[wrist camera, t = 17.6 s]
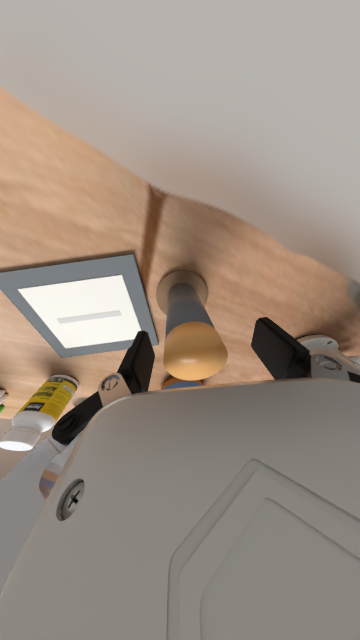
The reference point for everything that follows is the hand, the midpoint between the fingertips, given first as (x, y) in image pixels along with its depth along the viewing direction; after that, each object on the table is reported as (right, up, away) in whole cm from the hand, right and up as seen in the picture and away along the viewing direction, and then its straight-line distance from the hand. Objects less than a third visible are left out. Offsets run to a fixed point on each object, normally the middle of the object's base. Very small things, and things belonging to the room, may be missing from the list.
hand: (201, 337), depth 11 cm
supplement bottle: (-26, -11, +15) cm, 32 cm away
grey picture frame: (-15, +2, +8) cm, 17 cm away
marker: (-2, +5, +6) cm, 8 cm away
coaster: (-2, +5, +7) cm, 9 cm away
